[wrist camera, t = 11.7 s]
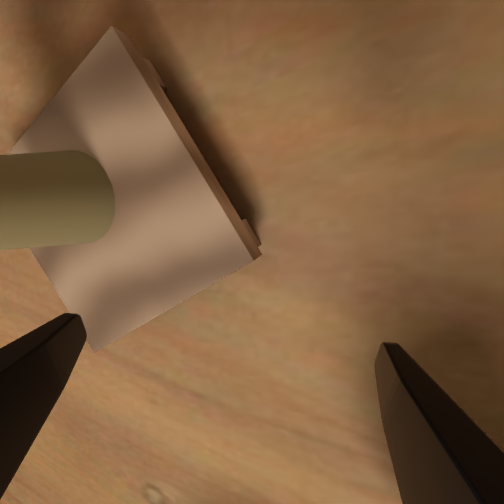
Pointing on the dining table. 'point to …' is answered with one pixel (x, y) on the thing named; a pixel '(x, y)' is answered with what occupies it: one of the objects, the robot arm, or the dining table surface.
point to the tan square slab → (136, 197)
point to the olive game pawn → (53, 199)
